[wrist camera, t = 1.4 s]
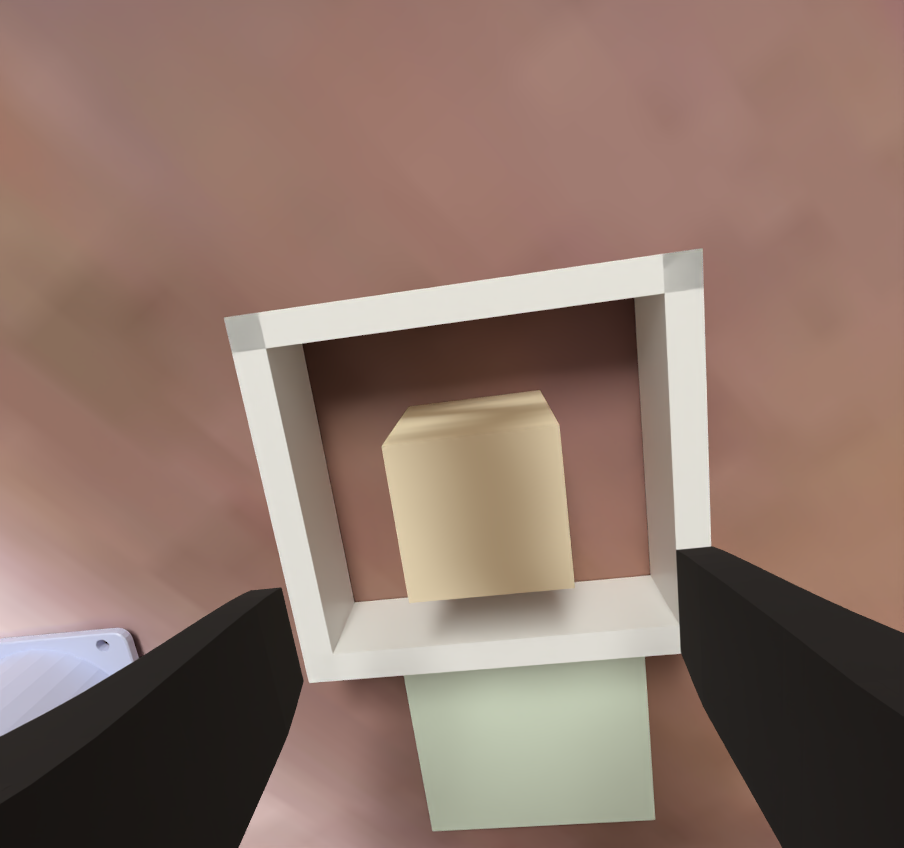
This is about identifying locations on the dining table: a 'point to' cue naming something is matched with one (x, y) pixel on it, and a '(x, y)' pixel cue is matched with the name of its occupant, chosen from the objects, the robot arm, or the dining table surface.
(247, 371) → the box
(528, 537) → the wood block
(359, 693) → the dining table surface
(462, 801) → the pad
